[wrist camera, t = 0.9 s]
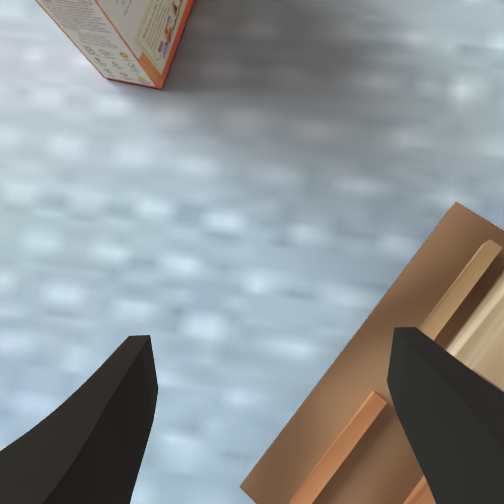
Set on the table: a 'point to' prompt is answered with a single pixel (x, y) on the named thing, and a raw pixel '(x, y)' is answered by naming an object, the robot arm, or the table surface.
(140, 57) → the cracker box
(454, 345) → the birch board
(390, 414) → the rack
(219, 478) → the table surface
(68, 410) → the robot arm
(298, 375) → the table surface
